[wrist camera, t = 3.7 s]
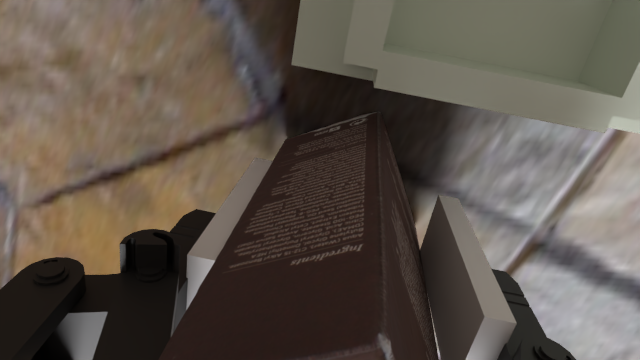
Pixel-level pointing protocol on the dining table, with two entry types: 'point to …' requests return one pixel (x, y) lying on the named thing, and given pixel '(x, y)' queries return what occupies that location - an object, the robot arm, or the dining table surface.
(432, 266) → the robot arm
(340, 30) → the pale green holder tray
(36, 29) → the dining table surface
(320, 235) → the box
